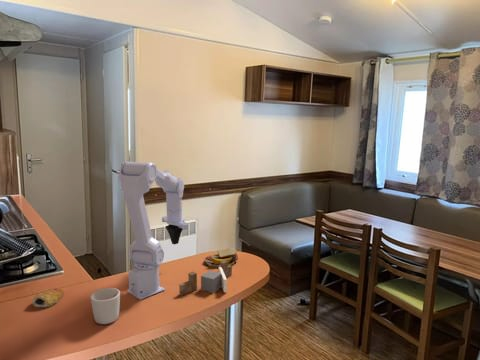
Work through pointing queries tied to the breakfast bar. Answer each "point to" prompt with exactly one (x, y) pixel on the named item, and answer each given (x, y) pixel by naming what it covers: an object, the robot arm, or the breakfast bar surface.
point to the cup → (105, 305)
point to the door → (223, 279)
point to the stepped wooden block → (192, 279)
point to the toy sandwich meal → (222, 257)
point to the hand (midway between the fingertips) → (175, 243)
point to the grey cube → (211, 281)
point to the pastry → (47, 298)
